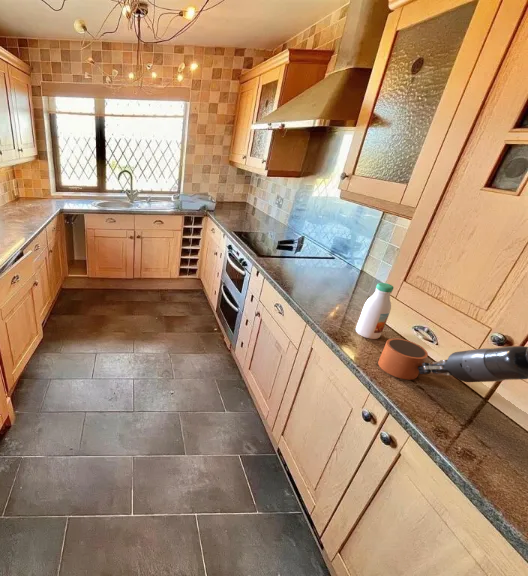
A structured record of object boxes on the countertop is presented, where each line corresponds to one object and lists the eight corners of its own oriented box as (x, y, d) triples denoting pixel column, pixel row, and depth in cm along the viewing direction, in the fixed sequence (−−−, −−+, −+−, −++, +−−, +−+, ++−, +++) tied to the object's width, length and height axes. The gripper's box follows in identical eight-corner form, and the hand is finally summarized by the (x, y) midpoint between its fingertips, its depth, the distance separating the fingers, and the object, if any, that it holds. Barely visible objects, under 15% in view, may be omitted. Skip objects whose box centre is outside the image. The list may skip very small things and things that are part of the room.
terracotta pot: (412, 363, 99) (422, 342, 95) (422, 383, 91) (433, 362, 87) (375, 355, 103) (383, 335, 99) (381, 374, 95) (390, 353, 91)
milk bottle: (362, 339, 110) (381, 290, 102) (350, 327, 117) (367, 280, 108) (385, 339, 110) (405, 290, 101) (371, 327, 117) (389, 280, 108)
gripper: (503, 350, 75) (440, 357, 91) (447, 349, 75) (394, 356, 92) (514, 382, 72) (447, 384, 89) (456, 381, 73) (400, 383, 89)
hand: (420, 370), depth 90 cm, fingers closed
